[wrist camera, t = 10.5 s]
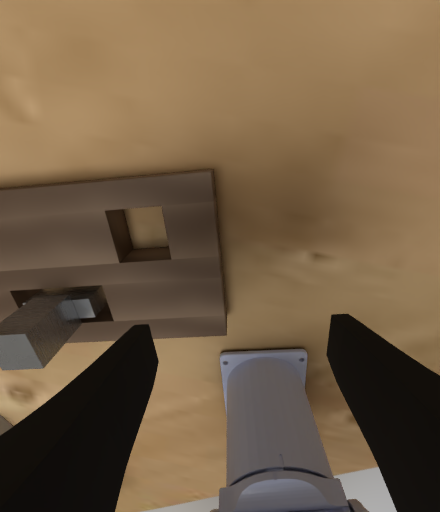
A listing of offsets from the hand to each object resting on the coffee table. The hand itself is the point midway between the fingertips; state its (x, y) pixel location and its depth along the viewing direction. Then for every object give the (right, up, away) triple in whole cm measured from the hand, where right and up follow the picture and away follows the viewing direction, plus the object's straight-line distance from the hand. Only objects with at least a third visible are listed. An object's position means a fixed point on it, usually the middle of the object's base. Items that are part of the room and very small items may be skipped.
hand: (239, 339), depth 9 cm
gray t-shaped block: (-12, +1, +10) cm, 16 cm away
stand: (-10, +3, +9) cm, 14 cm away
